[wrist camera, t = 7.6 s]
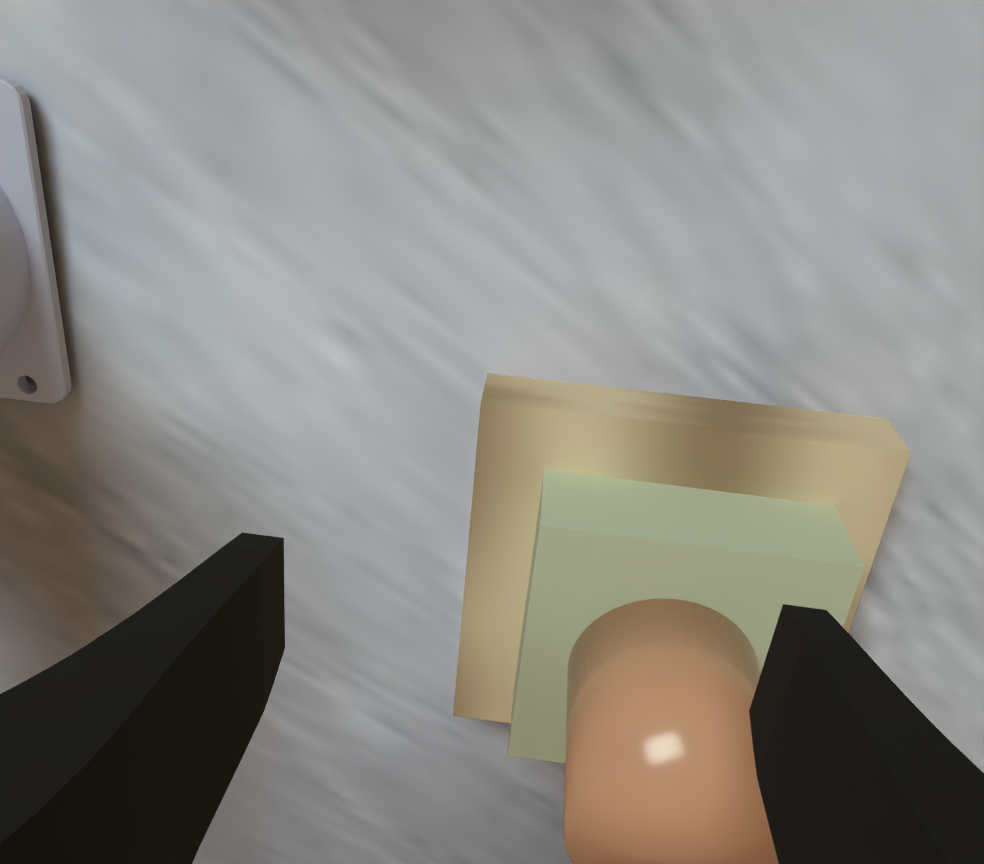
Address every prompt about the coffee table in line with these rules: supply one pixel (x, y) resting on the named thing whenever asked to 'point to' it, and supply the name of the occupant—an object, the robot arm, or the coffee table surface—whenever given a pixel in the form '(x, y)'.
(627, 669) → the peach domed cylinder
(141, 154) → the coffee table surface
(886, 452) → the maple slab
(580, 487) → the sage slab
